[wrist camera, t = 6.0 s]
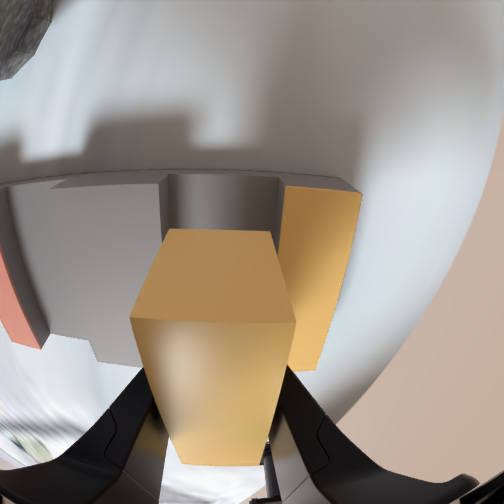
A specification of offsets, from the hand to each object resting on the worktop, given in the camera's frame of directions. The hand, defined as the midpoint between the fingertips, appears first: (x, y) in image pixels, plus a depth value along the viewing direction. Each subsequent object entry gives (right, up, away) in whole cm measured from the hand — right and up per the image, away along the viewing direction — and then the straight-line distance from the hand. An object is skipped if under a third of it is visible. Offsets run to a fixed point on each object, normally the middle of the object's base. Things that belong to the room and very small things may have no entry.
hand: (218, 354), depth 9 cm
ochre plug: (0, +1, +1) cm, 1 cm away
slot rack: (-5, +3, +4) cm, 7 cm away
